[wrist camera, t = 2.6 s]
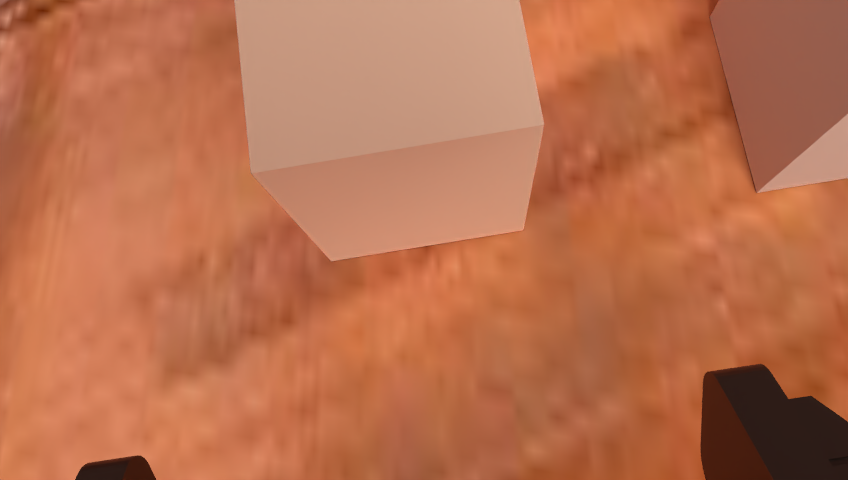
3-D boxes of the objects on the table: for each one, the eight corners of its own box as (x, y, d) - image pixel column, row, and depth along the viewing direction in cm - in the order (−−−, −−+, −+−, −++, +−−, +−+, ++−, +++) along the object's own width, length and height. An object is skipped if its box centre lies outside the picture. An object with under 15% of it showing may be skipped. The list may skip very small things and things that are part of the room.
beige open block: (331, 261, 25) (250, 173, 17) (310, 85, 27) (227, -80, 18) (523, 230, 25) (544, 125, 16) (490, 54, 27) (494, -128, 18)
